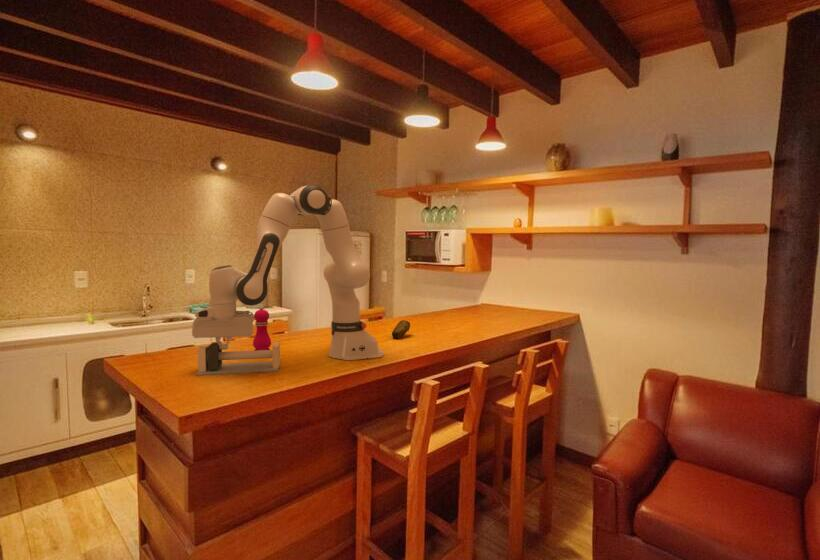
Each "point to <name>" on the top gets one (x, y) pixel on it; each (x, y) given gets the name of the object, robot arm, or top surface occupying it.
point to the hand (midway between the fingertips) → (223, 349)
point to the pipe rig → (239, 355)
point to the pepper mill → (261, 330)
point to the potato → (401, 329)
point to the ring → (214, 356)
